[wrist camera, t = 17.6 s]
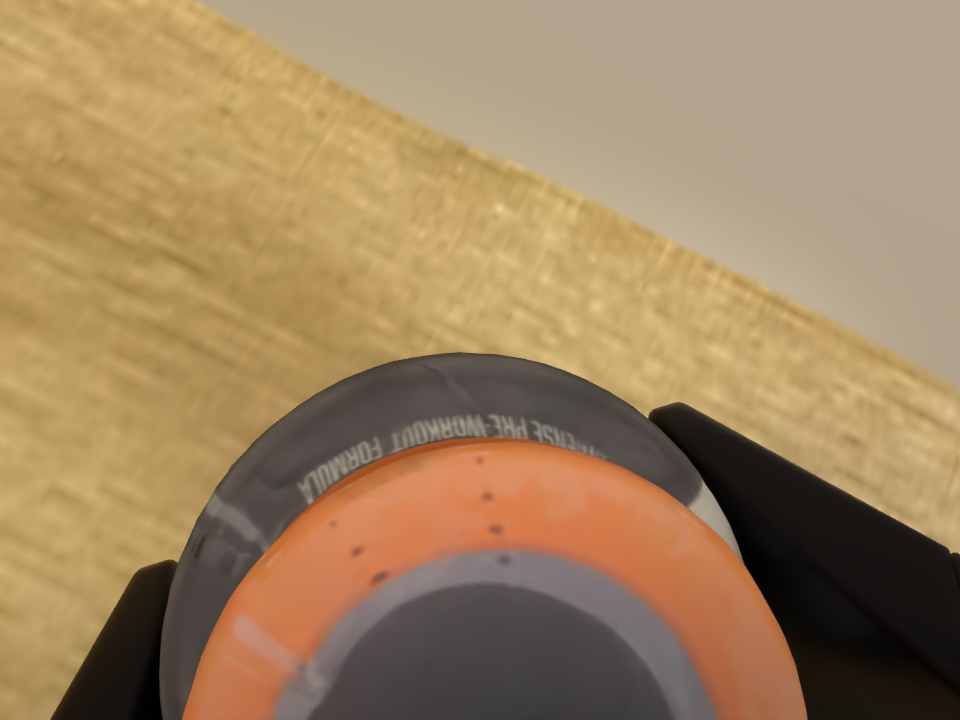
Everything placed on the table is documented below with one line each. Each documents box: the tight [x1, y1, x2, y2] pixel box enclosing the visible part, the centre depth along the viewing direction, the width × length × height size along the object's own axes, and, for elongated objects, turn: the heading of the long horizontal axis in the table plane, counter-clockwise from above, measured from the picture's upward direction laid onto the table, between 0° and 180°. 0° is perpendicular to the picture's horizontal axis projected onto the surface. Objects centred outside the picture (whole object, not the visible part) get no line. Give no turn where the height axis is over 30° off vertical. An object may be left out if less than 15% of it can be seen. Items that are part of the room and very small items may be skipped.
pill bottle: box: [159, 352, 807, 720], centre depth 10 cm, size 6×6×11 cm
